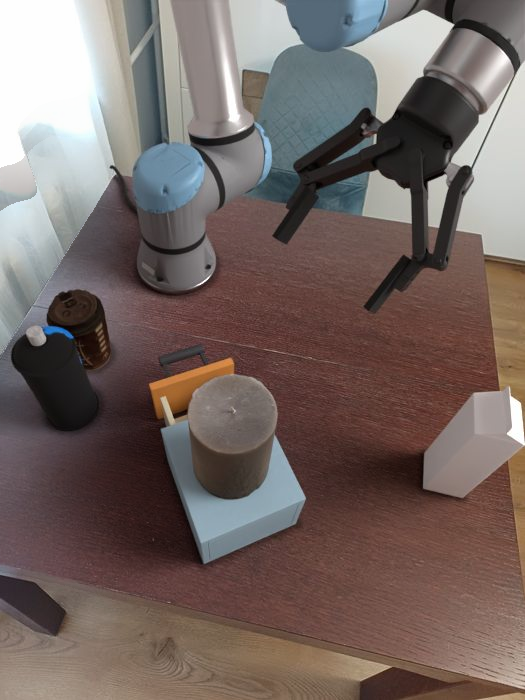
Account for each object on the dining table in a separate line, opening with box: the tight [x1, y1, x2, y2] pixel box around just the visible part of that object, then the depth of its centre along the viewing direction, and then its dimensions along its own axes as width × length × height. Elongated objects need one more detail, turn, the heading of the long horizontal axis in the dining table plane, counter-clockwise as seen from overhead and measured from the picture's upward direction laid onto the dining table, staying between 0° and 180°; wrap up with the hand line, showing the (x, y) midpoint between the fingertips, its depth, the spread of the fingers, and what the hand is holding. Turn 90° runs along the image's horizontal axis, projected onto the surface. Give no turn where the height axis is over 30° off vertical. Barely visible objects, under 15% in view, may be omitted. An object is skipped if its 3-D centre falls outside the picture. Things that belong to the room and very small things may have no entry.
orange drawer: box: [148, 343, 235, 427], centre depth 74 cm, size 20×13×9 cm, turn 24°
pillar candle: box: [186, 373, 279, 500], centre depth 57 cm, size 10×10×15 cm
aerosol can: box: [10, 324, 100, 432], centre depth 70 cm, size 8×8×20 cm
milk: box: [422, 385, 525, 499], centre depth 67 cm, size 6×6×22 cm
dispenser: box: [160, 420, 307, 565], centre depth 68 cm, size 16×14×11 cm
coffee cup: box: [46, 288, 112, 372], centre depth 79 cm, size 9×8×13 cm
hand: (321, 274), depth 55 cm, fingers open, 13 cm apart
